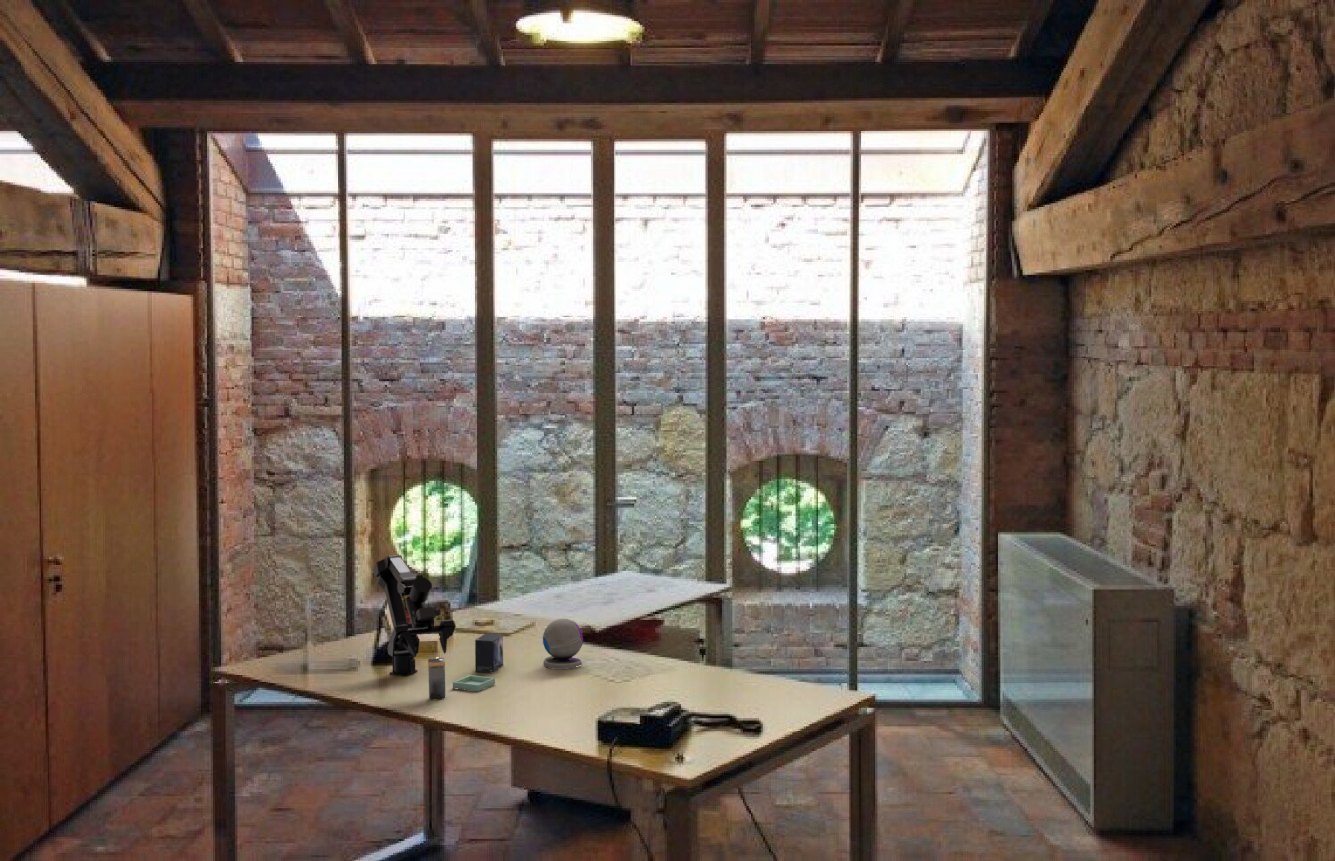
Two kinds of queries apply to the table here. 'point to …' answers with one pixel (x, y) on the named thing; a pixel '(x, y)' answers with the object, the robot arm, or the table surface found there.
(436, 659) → the lidded jar
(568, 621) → the webcam
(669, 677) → the table surface
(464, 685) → the tray
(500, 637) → the small box
